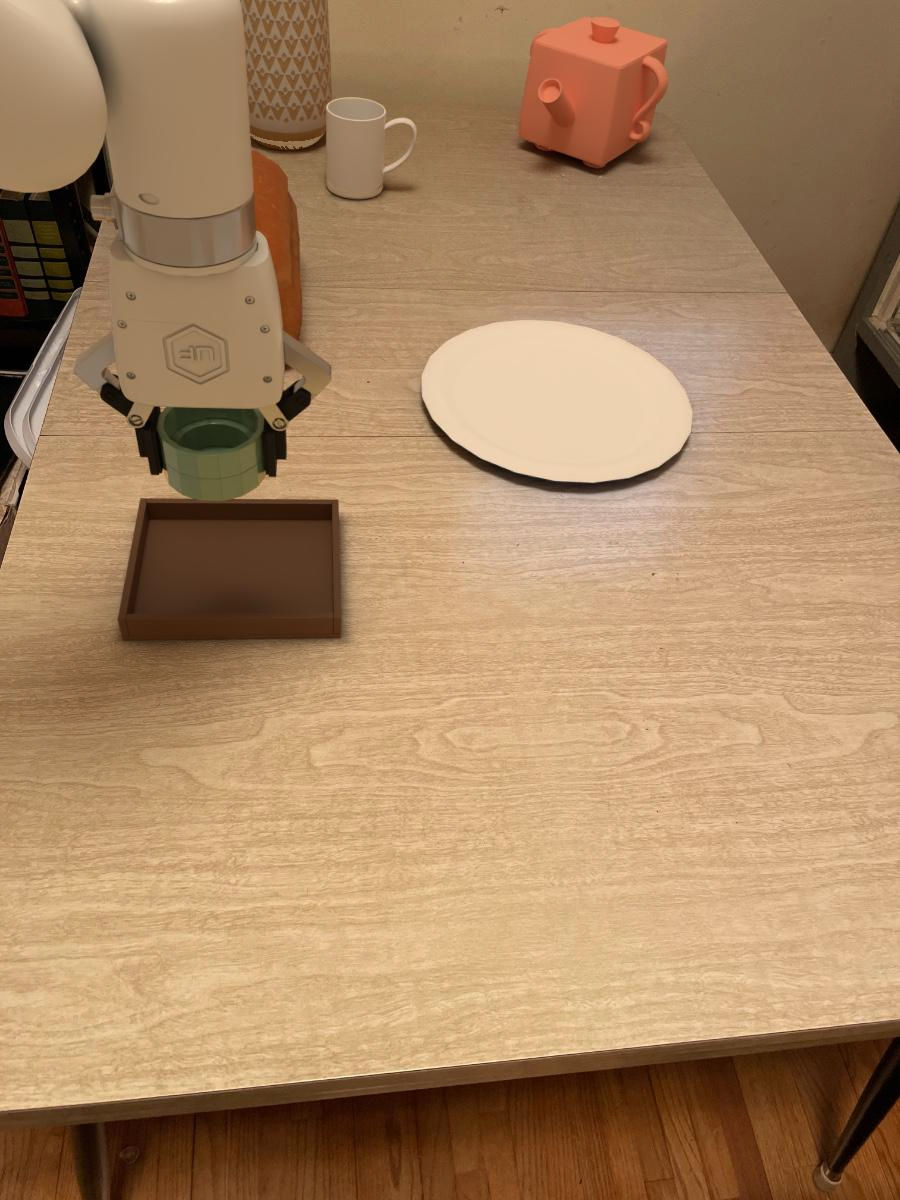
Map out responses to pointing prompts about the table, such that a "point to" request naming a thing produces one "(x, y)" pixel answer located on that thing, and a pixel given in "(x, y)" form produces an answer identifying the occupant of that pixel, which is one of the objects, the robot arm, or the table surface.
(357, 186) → the mug
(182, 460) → the bowl
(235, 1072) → the table surface
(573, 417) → the plate
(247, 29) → the vase
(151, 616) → the tray
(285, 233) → the bread
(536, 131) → the teapot
